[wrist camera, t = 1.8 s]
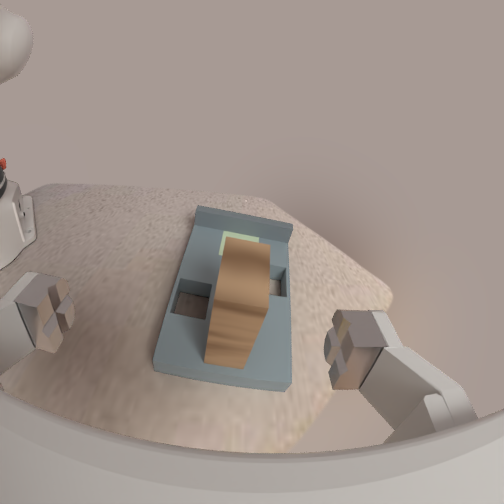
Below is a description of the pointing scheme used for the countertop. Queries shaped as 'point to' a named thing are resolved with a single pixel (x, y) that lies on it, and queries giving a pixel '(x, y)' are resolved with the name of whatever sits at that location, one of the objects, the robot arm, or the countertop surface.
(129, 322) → the countertop surface
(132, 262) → the countertop surface
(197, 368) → the deck
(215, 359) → the block
